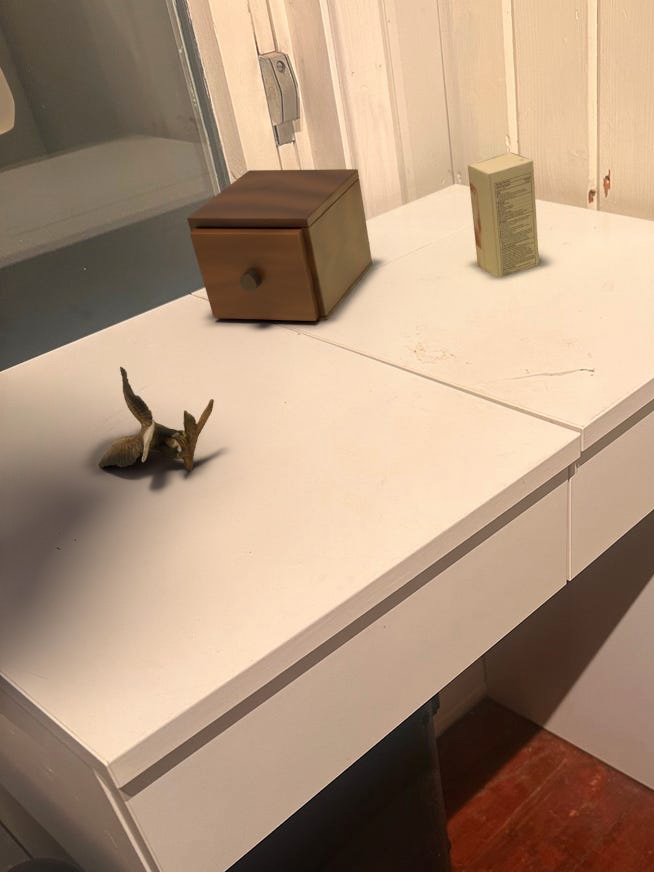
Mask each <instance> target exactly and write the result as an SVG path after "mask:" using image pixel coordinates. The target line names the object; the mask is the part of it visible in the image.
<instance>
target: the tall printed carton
mask: <svg viewBox="0 0 654 872" xmlns="http://www.w3.org/2000/svg"><path fill="white" fill-rule="evenodd" d="M534 167H535V166H534V160H533V159H531V158H529V157H525V156H523V155H520V154H518V153H515V152H511V151H508V152H504V153H502V154H498V155H495V156H491V157H487V158H483V159H481V160H478V161H474V162H471V163H468V164H467V173H468V182H469V191H470V192H469V193H470V200H471V201H470V202H471V213H472V214H471V215H472V223H473V232H474V242H475V250H476V251H475V252H476V253H475V254H476V262H477V263H476V264H477V267H479V268H481V269H482V270H484V271H485V272H488V274H491V275H492V276H494V277H496V278H501V277H505V276H508V275H511V274H515V273H518V272H521V271H524V270H527V269H530V268H533V267H536V266H539V265H540V258H539V256H540V255H539V239H538V222H537V221H538V220H537V206H536V205H537V204H536V188H535V187H536V186H535V185H536V184H535V172H534V171H535V170H534Z"/></svg>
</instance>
